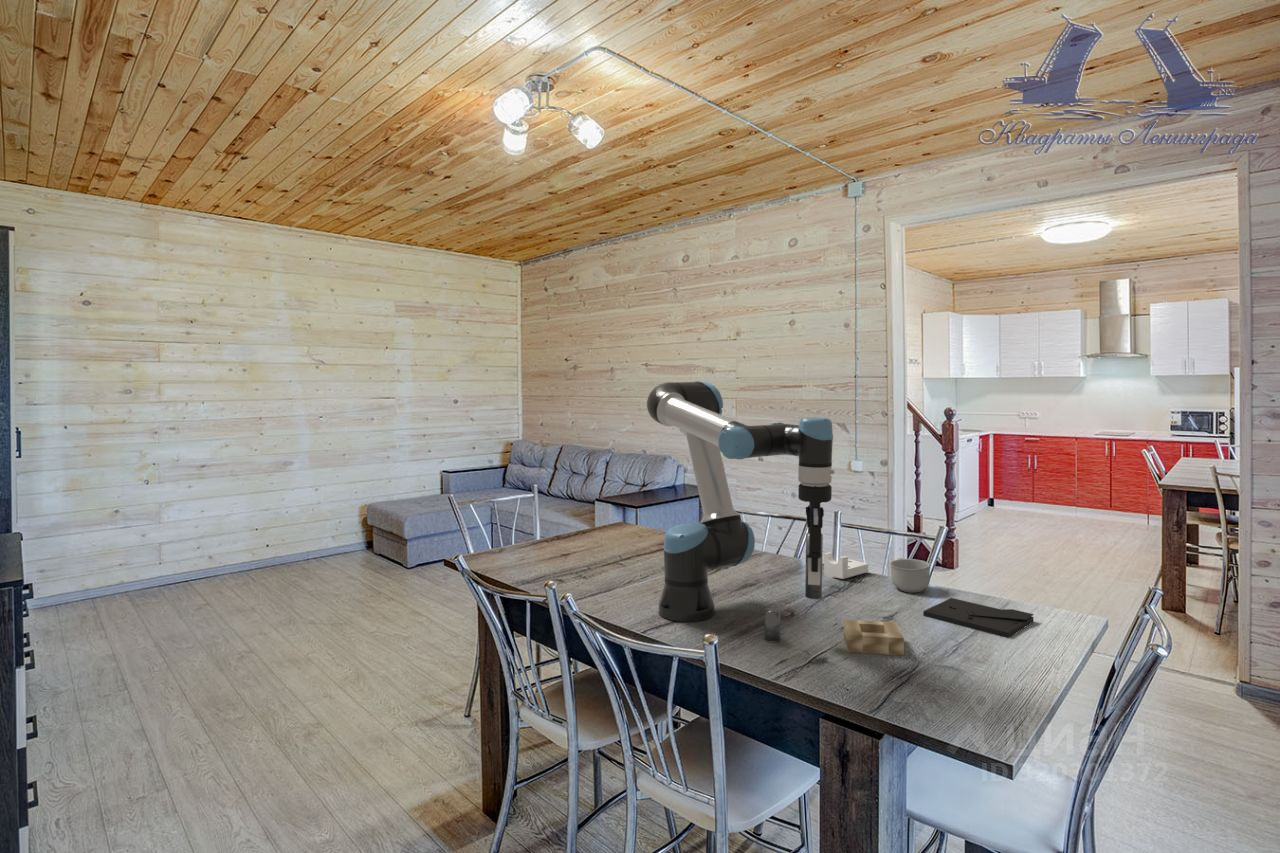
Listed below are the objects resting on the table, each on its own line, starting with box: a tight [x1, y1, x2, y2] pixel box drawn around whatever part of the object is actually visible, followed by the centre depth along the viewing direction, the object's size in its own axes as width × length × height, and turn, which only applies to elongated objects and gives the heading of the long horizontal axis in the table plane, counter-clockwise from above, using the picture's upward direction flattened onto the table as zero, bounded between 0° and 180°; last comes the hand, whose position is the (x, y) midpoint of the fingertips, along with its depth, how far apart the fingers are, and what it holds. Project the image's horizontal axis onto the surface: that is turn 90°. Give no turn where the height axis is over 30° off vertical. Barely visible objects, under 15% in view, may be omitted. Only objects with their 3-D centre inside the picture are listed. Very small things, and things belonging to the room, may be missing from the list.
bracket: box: [823, 552, 869, 580], centre depth 211 cm, size 13×7×8 cm, turn 125°
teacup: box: [889, 557, 931, 594], centre depth 196 cm, size 14×11×8 cm
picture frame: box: [922, 597, 1035, 639], centre depth 170 cm, size 16×3×21 cm
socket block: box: [843, 619, 905, 656], centre depth 154 cm, size 12×10×4 cm
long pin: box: [804, 532, 824, 600], centre depth 156 cm, size 4×4×15 cm
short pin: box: [763, 607, 781, 642], centre depth 159 cm, size 4×4×7 cm
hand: (813, 581), depth 156 cm, fingers closed on long pin, 4 cm apart
